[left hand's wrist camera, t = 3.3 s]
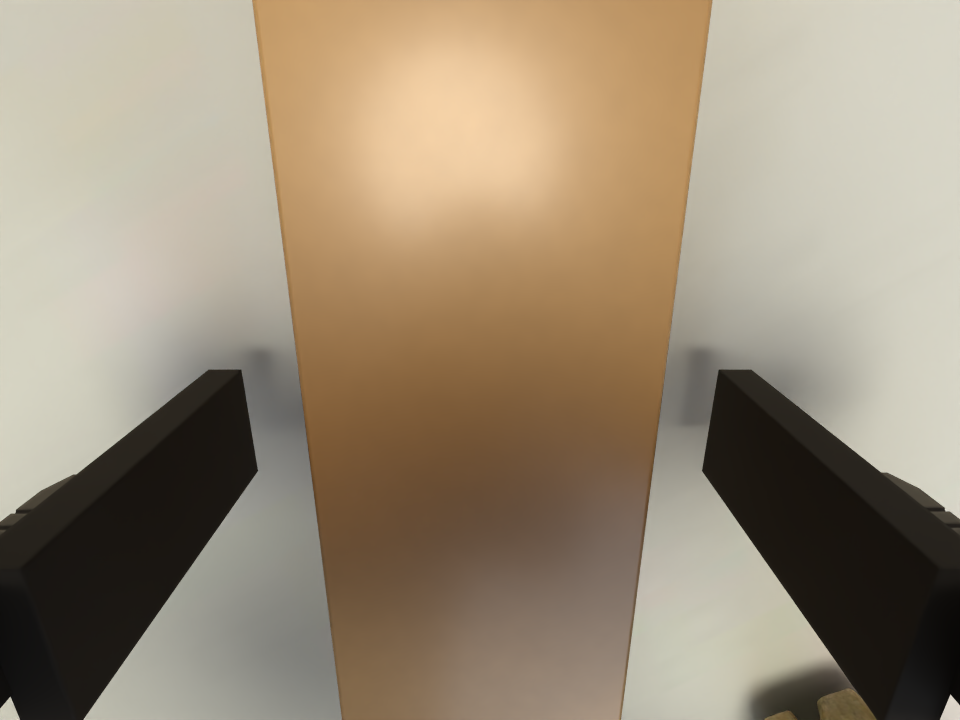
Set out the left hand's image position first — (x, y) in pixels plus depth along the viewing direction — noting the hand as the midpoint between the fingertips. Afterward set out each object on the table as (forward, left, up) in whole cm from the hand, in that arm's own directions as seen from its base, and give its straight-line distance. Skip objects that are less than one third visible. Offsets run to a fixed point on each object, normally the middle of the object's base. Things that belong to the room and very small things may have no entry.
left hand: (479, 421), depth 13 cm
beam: (+28, +12, -2) cm, 30 cm away
